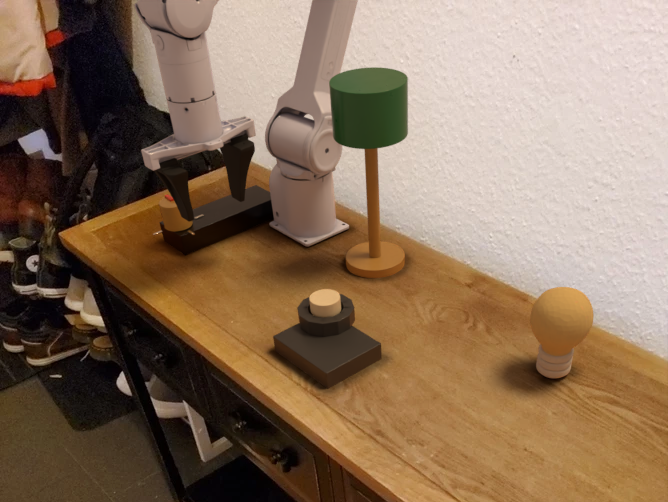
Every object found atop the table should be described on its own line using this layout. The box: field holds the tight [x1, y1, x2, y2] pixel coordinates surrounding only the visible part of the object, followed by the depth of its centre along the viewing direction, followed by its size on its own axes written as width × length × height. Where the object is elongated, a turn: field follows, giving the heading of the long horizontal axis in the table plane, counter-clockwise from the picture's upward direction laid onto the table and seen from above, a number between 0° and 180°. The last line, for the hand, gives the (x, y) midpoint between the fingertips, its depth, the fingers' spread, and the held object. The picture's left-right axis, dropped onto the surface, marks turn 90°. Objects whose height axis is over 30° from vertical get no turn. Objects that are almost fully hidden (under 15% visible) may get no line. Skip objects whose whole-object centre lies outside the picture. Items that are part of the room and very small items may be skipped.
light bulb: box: [529, 286, 594, 379], centre depth 79 cm, size 6×6×10 cm
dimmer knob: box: [158, 194, 193, 231], centre depth 104 cm, size 4×4×4 cm
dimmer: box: [152, 184, 274, 257], centre depth 109 cm, size 20×8×3 cm, turn 131°
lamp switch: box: [308, 288, 341, 318], centre depth 86 cm, size 4×4×2 cm
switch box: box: [272, 293, 383, 390], centre depth 86 cm, size 11×10×4 cm
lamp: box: [329, 66, 409, 279], centre depth 93 cm, size 9×9×23 cm
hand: (213, 208), depth 95 cm, fingers open, 7 cm apart
